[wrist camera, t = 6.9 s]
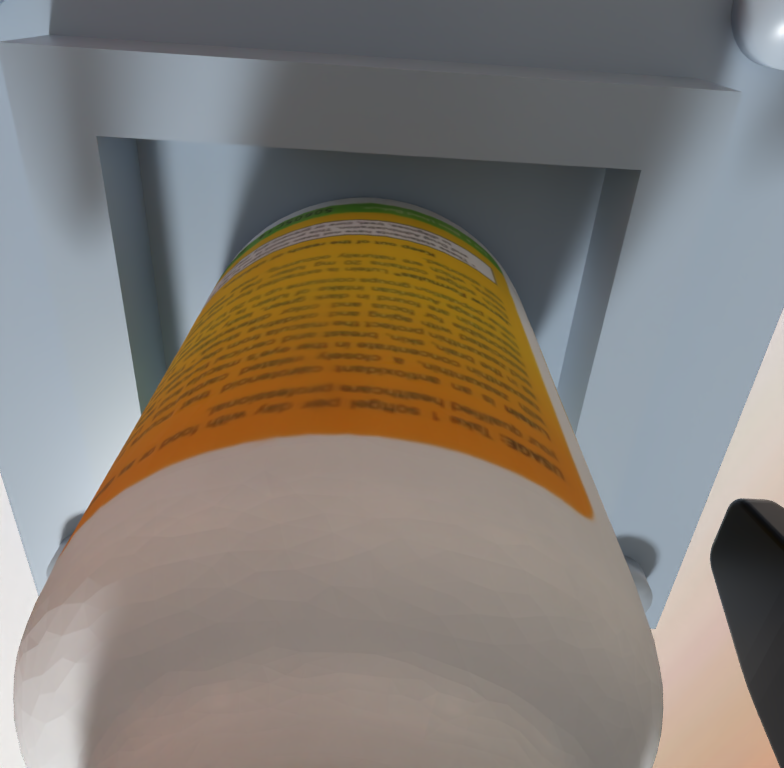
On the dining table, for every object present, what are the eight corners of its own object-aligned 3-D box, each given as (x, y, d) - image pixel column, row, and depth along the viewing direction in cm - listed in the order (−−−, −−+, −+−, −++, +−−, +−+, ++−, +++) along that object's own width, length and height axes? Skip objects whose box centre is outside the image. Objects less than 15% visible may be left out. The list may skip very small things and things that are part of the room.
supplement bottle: (144, 292, 11) (-628, 1252, 3) (431, 121, 10) (681, 1004, 1) (321, 507, 13) (205, 1361, 5) (571, 395, 12) (975, 1318, 4)
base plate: (894, -119, 9) (1057, -152, 7) (639, 588, 16) (677, 683, 14) (-144, -200, 9) (-328, -262, 6) (63, 564, 16) (10, 658, 14)
